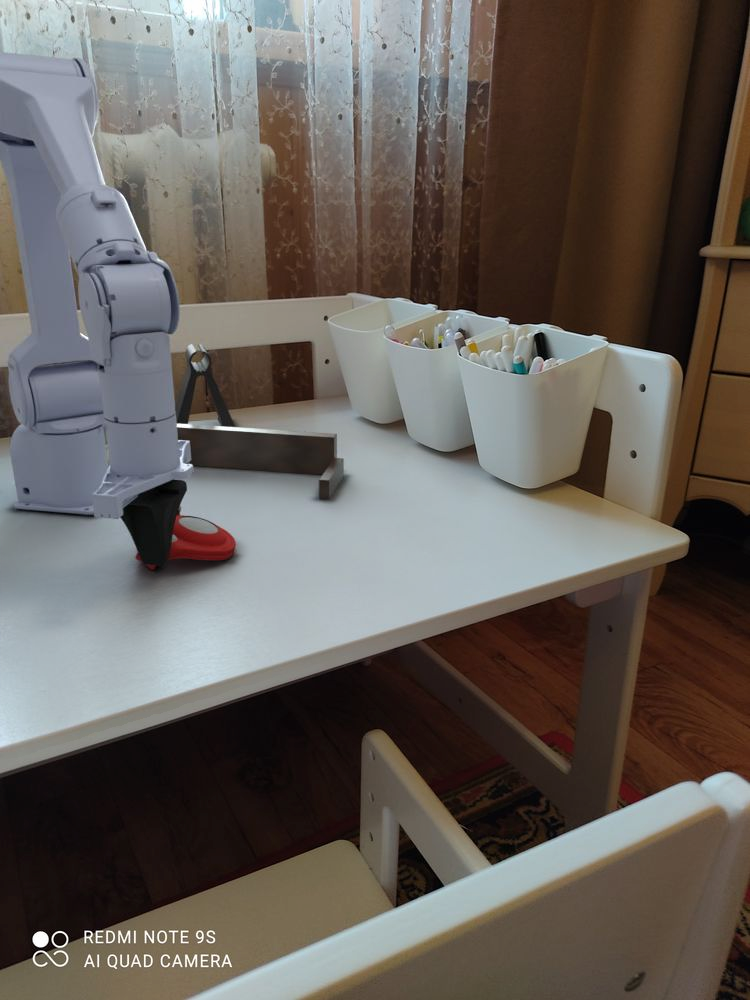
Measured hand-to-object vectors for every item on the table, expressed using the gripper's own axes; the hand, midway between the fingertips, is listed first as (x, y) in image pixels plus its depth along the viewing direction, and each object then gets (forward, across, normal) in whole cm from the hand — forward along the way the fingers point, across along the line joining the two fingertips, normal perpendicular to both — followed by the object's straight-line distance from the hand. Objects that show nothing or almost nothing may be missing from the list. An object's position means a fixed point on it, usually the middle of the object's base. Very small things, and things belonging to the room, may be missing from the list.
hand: (155, 562), depth 69 cm
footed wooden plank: (+2, +27, +1) cm, 27 cm away
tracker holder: (+2, +7, 0) cm, 8 cm away
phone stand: (+2, +46, +14) cm, 49 cm away
